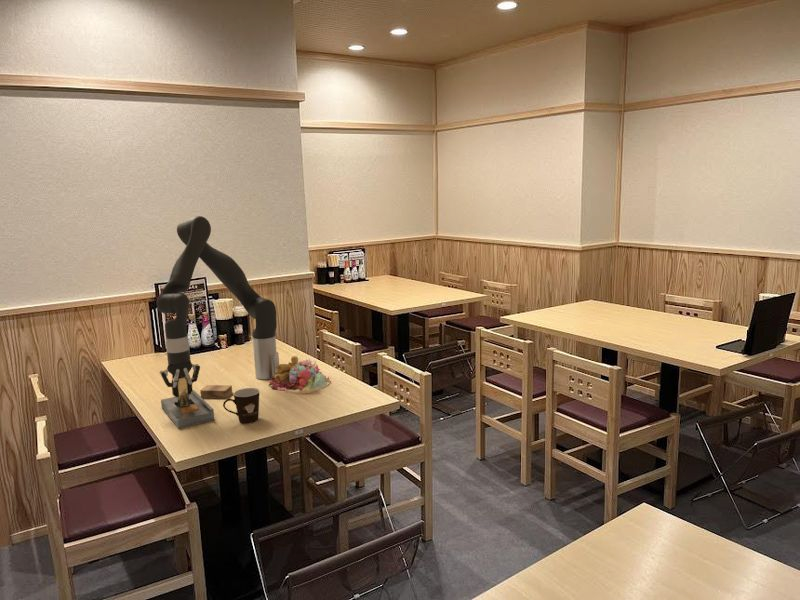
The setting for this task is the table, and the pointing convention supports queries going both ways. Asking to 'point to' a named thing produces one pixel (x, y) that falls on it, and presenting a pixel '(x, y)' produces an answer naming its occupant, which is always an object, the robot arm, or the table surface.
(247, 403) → the coffee mug
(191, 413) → the rack plate
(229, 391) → the brown wooden block
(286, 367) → the candy landscape model
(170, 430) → the table surface
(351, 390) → the table surface
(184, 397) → the brass peg
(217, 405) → the table surface
